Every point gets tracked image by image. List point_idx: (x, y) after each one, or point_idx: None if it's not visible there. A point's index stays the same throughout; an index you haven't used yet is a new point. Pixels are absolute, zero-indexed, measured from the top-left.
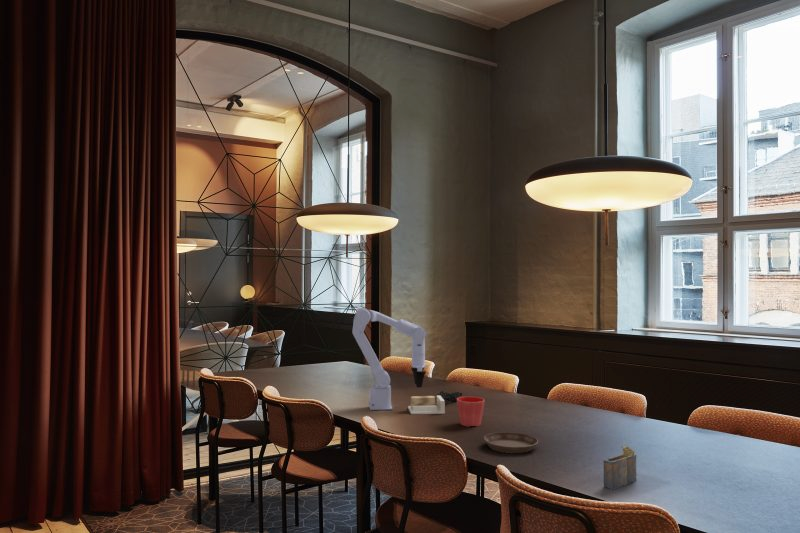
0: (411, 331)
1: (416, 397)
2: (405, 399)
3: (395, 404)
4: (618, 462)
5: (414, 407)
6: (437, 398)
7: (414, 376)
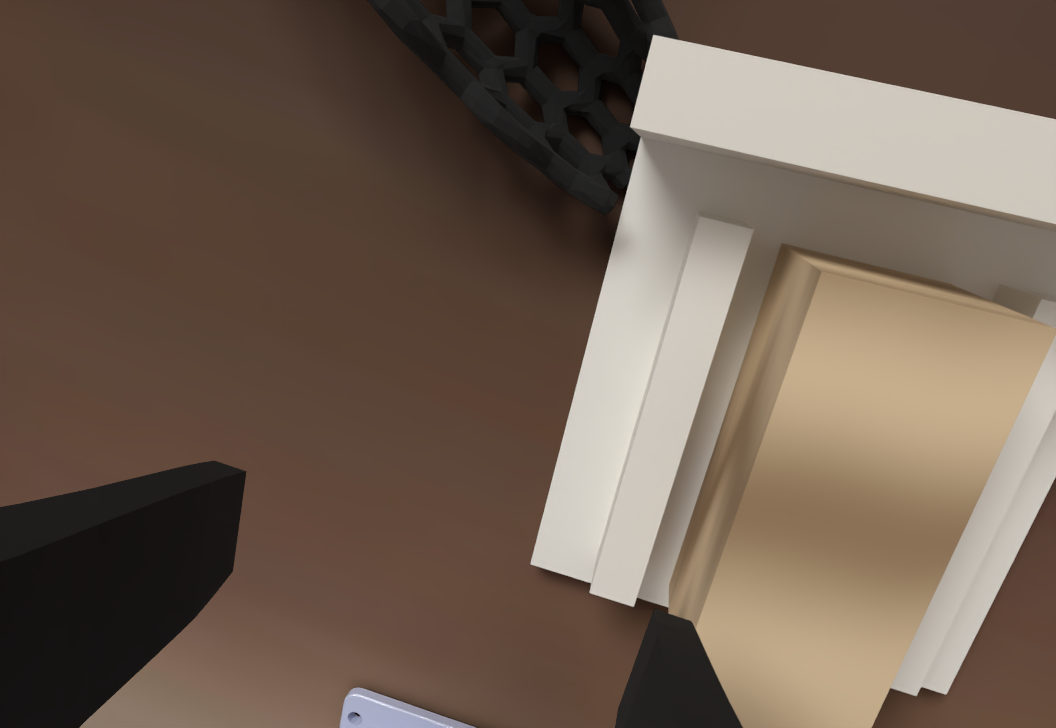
0: None
1: (827, 674)
2: (15, 371)
3: (281, 600)
4: None
5: (921, 665)
6: (756, 157)
7: (68, 725)
